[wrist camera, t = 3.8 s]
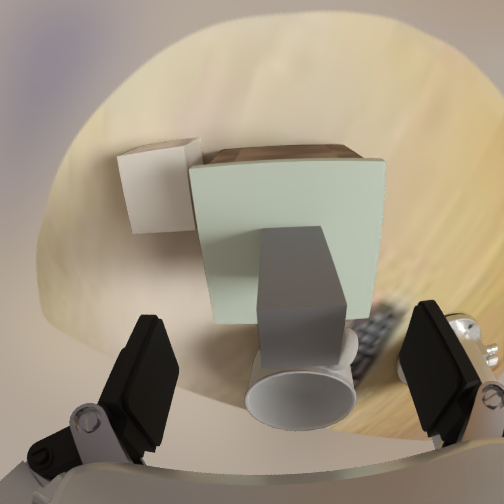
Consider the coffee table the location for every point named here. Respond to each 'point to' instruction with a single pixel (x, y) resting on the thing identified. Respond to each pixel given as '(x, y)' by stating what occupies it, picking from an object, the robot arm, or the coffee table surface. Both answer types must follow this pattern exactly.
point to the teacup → (303, 392)
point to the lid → (291, 249)
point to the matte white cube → (160, 185)
